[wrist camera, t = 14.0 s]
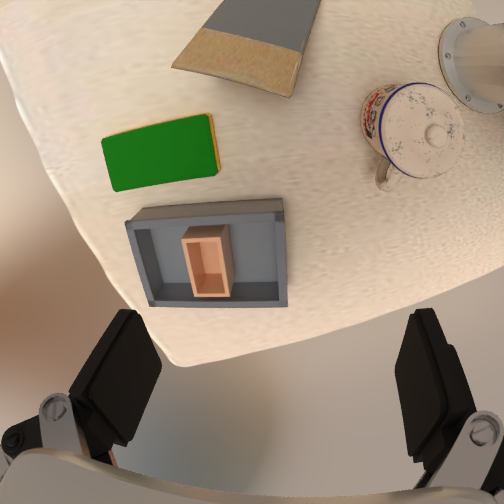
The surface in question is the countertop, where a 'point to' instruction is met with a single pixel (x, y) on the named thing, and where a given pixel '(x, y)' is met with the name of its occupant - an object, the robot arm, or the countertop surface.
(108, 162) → the dish sponge
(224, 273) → the box
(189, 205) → the big crate
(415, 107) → the teacup with lid
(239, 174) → the countertop surface
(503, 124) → the countertop surface
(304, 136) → the countertop surface
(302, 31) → the sandwich container
